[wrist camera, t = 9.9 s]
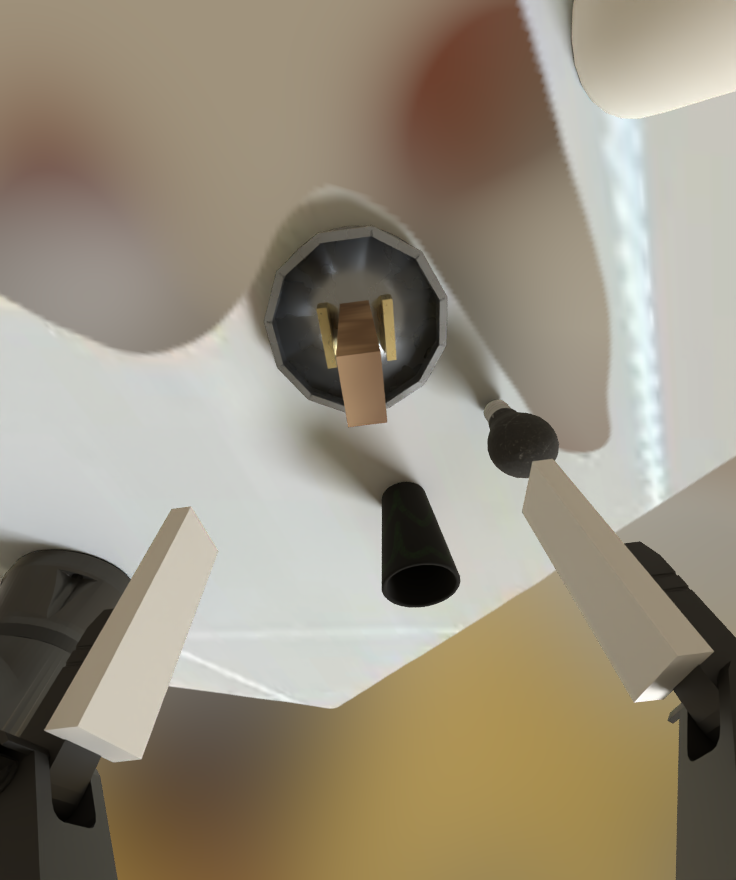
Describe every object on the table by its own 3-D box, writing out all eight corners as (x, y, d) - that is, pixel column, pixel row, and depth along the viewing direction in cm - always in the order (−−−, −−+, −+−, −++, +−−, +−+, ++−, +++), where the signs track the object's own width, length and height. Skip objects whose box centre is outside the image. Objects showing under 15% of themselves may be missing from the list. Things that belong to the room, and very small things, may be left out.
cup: (382, 471, 39) (394, 559, 29) (442, 480, 41) (473, 566, 31) (367, 515, 43) (373, 605, 34) (422, 522, 45) (443, 610, 35)
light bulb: (456, 420, 36) (488, 483, 28) (484, 374, 33) (530, 429, 25) (499, 434, 37) (543, 498, 29) (530, 391, 34) (588, 449, 26)
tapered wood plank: (347, 355, 30) (348, 427, 20) (339, 303, 28) (335, 356, 18) (374, 352, 30) (387, 422, 20) (368, 300, 28) (380, 351, 18)
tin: (294, 409, 34) (290, 423, 32) (247, 240, 25) (238, 242, 23) (440, 391, 34) (447, 403, 31) (443, 213, 25) (452, 213, 23)
